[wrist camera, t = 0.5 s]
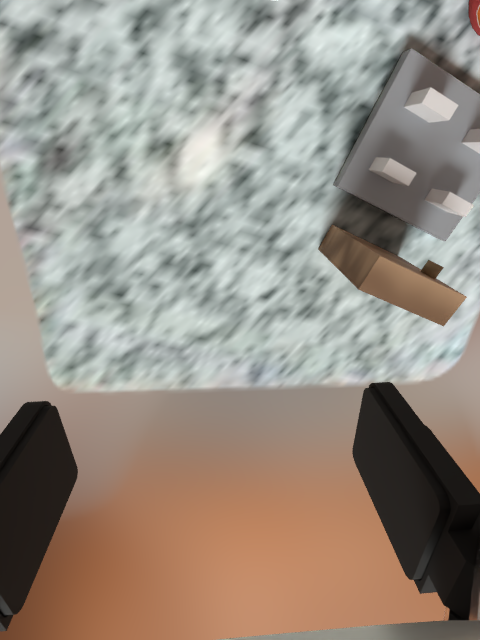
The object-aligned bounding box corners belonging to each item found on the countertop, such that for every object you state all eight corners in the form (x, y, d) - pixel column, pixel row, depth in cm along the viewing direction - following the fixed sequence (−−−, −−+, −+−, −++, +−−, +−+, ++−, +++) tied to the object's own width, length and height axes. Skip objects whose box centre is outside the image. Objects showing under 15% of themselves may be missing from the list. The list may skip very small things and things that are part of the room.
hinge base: (402, 52, 30) (431, 37, 26) (514, 127, 33) (555, 124, 29) (333, 184, 34) (348, 189, 30) (437, 238, 38) (463, 248, 34)
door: (337, 213, 36) (388, 241, 25) (403, 246, 38) (476, 284, 27) (318, 249, 38) (358, 289, 27) (382, 278, 40) (443, 326, 29)
